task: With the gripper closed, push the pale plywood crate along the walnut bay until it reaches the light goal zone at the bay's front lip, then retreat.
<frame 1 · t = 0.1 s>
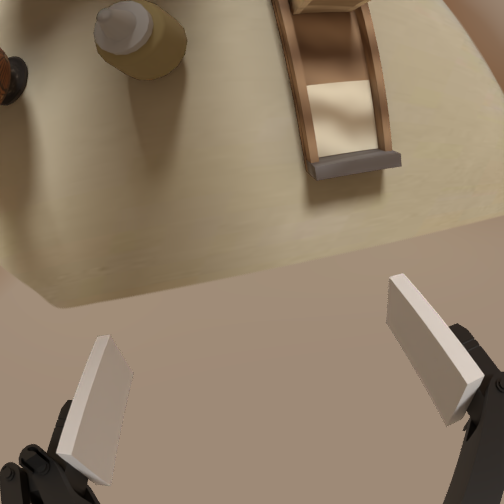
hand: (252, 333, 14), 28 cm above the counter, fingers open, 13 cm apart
vase: (13, 80, 29), on the counter
bay: (328, 50, 32), on the counter
squeeze bottle: (157, 51, 31), on the counter
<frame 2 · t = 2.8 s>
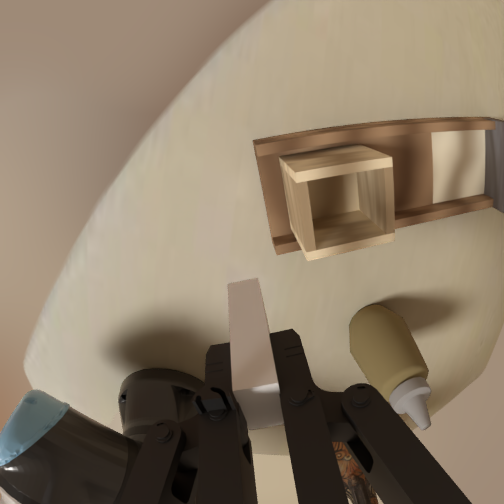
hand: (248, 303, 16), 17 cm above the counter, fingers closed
vase: (335, 412, 50), on the counter
crate: (336, 196, 27), point 5 cm above the counter, slide at 0.0 cm
bay: (397, 169, 31), on the counter
squeeze bottle: (368, 320, 41), on the counter
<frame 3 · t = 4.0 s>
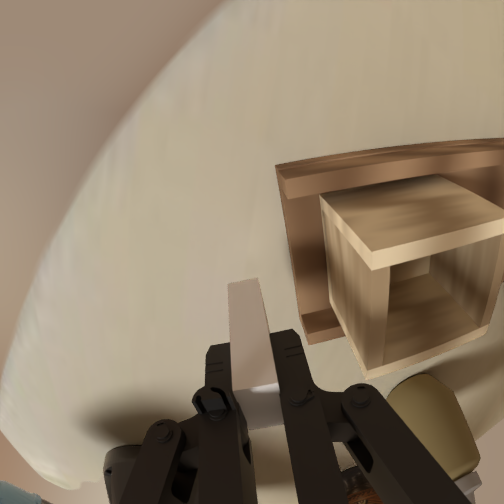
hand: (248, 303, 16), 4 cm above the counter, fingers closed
vase: (355, 471, 39), on the counter
crate: (411, 266, 16), point 5 cm above the counter, slide at 0.0 cm
bay: (474, 209, 20), on the counter
squeeze bottle: (408, 389, 29), on the counter
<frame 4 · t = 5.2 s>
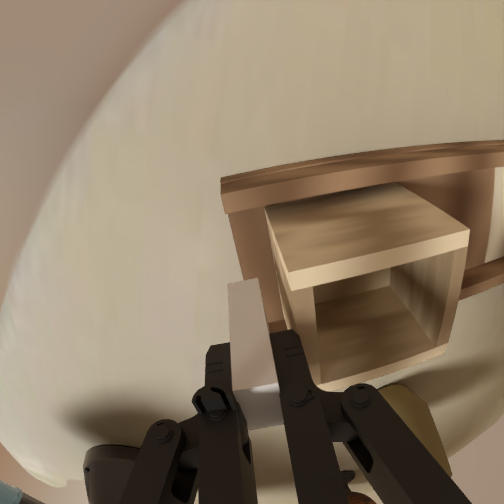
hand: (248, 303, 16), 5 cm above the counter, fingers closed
vase: (334, 477, 39), on the counter
crate: (360, 281, 16), point 5 cm above the counter, slide at 0.0 cm, touching gripper
bay: (445, 218, 20), on the counter
squeeze bottle: (381, 399, 29), on the counter
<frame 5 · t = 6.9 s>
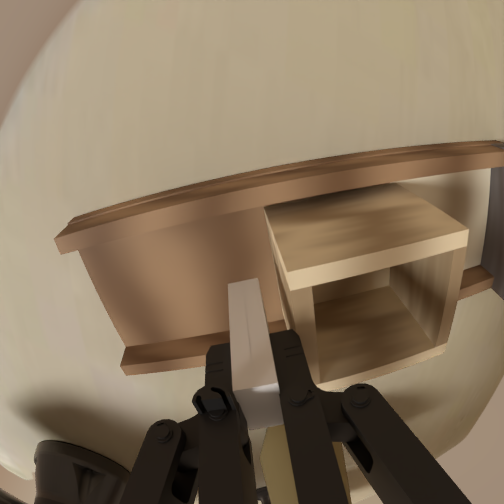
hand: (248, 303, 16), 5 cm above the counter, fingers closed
vase: (274, 489, 39), on the counter
crate: (359, 281, 16), point 5 cm above the counter, slide at 9.6 cm, touching gripper
bay: (324, 244, 20), on the counter
squeeze bottle: (294, 422, 29), on the counter
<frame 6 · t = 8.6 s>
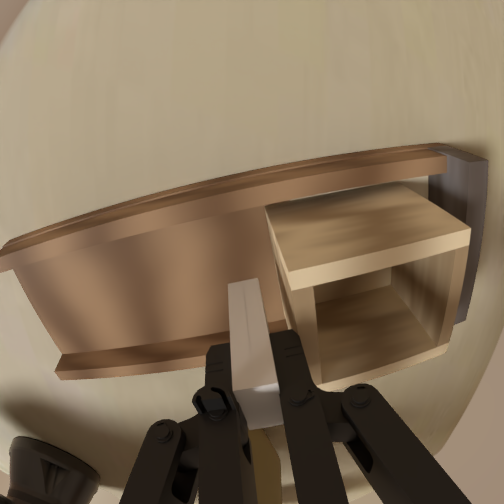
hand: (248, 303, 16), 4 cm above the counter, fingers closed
crate: (360, 281, 16), point 5 cm above the counter, slide at 15.8 cm, touching gripper
bay: (227, 264, 20), on the counter
squeeze bottle: (236, 433, 29), on the counter
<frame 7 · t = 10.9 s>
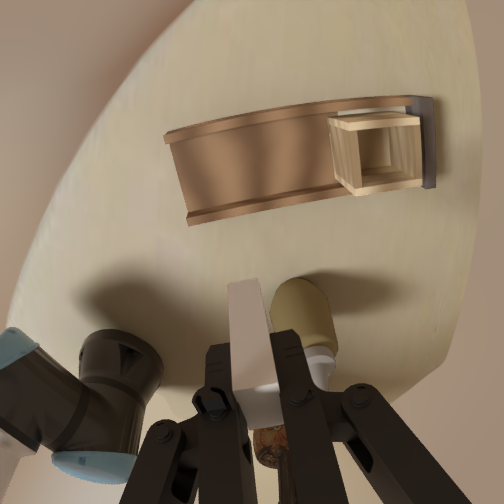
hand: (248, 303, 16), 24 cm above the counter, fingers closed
vase: (280, 387, 56), on the counter
crate: (374, 149, 31), point 5 cm above the counter, slide at 15.9 cm
bay: (305, 149, 36), on the counter
squeeze bottle: (294, 293, 45), on the counter
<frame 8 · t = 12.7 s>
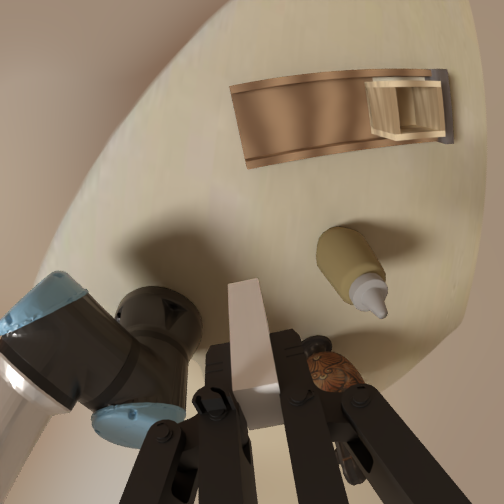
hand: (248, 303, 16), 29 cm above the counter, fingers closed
vase: (314, 346, 58), on the counter
crate: (405, 107, 35), point 5 cm above the counter, slide at 15.9 cm
bay: (346, 109, 39), on the counter
squeeze bottle: (334, 243, 49), on the counter
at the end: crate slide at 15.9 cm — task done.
